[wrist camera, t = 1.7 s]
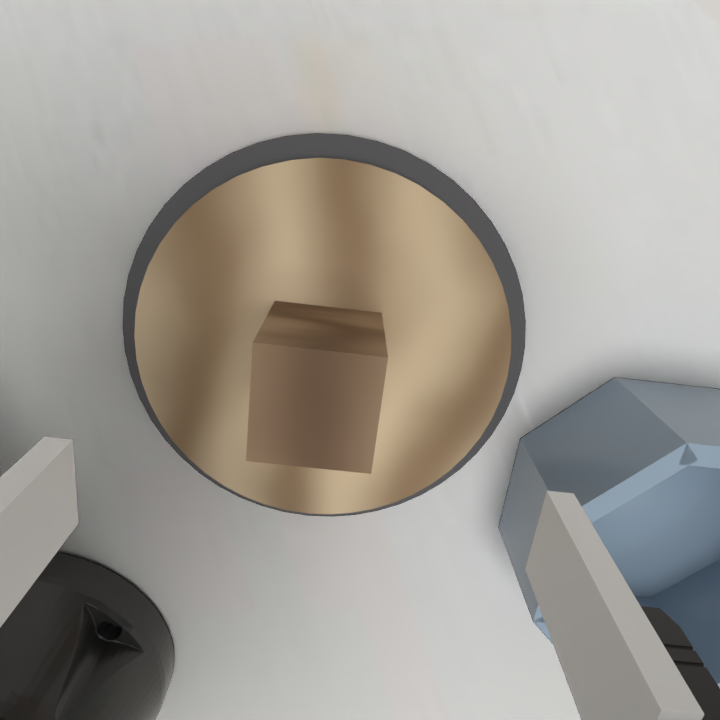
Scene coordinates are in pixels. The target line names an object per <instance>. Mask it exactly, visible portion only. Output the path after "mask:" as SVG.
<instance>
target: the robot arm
mask: <svg viewBox="0 0 720 720" xmlns="http://www.w3.org/2000/svg"><path fill="white" fill-rule="evenodd" d="M78 524H79V522H78V507H77V492H76V477H75V462H74V447H73V440H72V439H63V438H54V437H45V436H44V437H43V438H42V439H41V440H40V441H39V442H38V443H37V444H36V445H35V446H34V447H33V448H31V449H30V450H29V451H28V452H27V453H26V454H25V455H24V456H23V457H22V458H21V459H19V460H18V461H17V462H16V463H15V464H14V465H13V466H12V467H11V468H10V469H9V470H8V471H6V472H5V473H4V474H3V475H2V476H1V477H0V720H155V719H156V717H157V715H158V713H159V711H160V709H161V706H162V703H163V701H164V698H165V695H166V692H167V689H168V686H169V684H170V681H171V678H172V674H173V669H174V649H173V643H172V639H171V636H170V633H169V631H168V628H167V626H166V624H165V622H164V620H163V619H162V617H161V616H160V614H159V612H158V611H157V610H156V608H155V607H154V606H153V605H152V603H151V602H150V601H149V600H148V599H147V598H146V597H145V596H144V595H143V594H142V593H141V592H140V591H139V590H138V589H136V588H135V587H134V586H133V585H131V584H130V583H129V582H127V581H126V580H124V579H123V578H121V577H120V576H118V575H117V574H115V573H113V572H111V571H110V570H108V569H106V568H104V567H102V566H99V565H97V564H95V563H92V562H89V561H87V560H84V559H81V558H77V557H74V556H70V555H66V554H61V553H57V552H58V550H59V549H60V548H61V546H62V545H63V544H64V542H65V541H66V540H67V538H68V537H69V536H70V534H71V533H72V532H73V530H74V529H75V528H76V526H77V525H78ZM525 570H526V573H527V575H528V578H529V581H530V584H531V586H532V589H533V592H534V594H535V597H536V600H537V602H538V605H539V608H540V610H541V613H542V616H543V618H544V621H545V624H546V626H547V629H548V632H549V634H550V637H551V640H552V642H553V645H554V648H555V650H556V653H557V656H558V658H559V661H560V664H561V666H562V669H563V672H564V674H565V677H566V680H567V682H568V685H569V688H570V690H571V693H572V696H573V698H574V701H575V704H576V706H577V709H578V712H579V714H580V717H581V720H720V688H719V686H718V685H717V683H716V681H715V680H714V678H713V677H712V675H711V674H710V672H709V671H708V669H707V668H704V663H703V661H702V660H701V658H700V657H699V655H698V654H697V652H696V651H693V646H692V645H691V643H690V641H689V640H688V638H687V637H686V635H685V634H684V632H683V631H682V629H681V628H680V626H679V625H678V624H677V623H675V622H674V621H673V620H672V619H671V618H670V617H669V616H668V615H667V614H666V613H665V612H663V611H662V610H661V609H660V608H654V607H645V606H640V604H639V603H638V601H637V599H636V598H635V596H634V594H633V593H632V591H631V589H630V588H629V586H628V584H627V583H626V581H625V579H624V577H623V576H622V574H621V572H620V571H619V569H618V567H617V566H616V564H615V562H614V561H613V559H612V557H611V556H610V554H609V552H608V550H607V549H606V547H605V545H604V544H603V542H602V540H601V539H600V537H599V535H598V534H597V532H596V530H595V529H594V527H593V525H592V523H591V522H590V520H589V518H588V517H587V515H586V513H585V512H584V510H583V508H582V507H581V505H580V503H579V502H578V500H577V498H576V497H575V495H574V493H565V492H555V491H547V492H546V496H545V499H544V503H543V506H542V510H541V514H540V517H539V521H538V525H537V528H536V532H535V535H534V539H533V543H532V546H531V550H530V554H529V557H528V561H527V565H526V568H525Z"/></svg>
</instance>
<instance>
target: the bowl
mask: <svg viewBox="0 0 720 720" xmlns="http://www.w3.org/2000/svg"><path fill="white" fill-rule="evenodd" d="M547 491H555V492H565V493H574V495H575V497H576V498H577V500H578V502H579V503H580V505H581V507H582V508H583V510H584V512H585V513H586V515H587V517H588V518H589V520H590V522H591V523H592V525H593V527H594V529H595V530H596V532H597V534H598V535H599V537H600V539H601V540H602V542H603V544H604V545H605V547H606V549H607V550H608V552H609V554H610V556H611V557H612V559H613V561H614V562H615V564H616V566H617V567H618V569H619V571H620V572H621V574H622V576H623V577H624V579H625V581H626V583H627V584H628V586H629V588H630V589H631V591H632V593H633V594H634V596H635V598H636V599H637V601H638V603H639V604H640V606H645V607H654V608H660V609H661V610H662V611H663V612H665V613H666V614H667V615H668V616H669V617H670V618H671V619H672V620H673V621H674V622H675V623H677V624H678V625H679V626H680V628H681V629H682V631H683V632H684V634H685V635H686V637H687V638H688V640H689V641H690V643H691V645H692V646H693V651H696V652H697V654H698V655H699V657H700V658H701V660H702V661H703V663H704V668H707V669H708V671H709V672H710V674H711V675H712V677H713V678H714V680H715V681H716V683H717V685H718V686H719V688H720V389H714V388H705V387H696V386H687V385H678V384H669V383H661V382H652V381H643V380H634V379H625V378H616V377H614V378H613V379H611V380H610V381H608V382H607V383H605V384H604V385H602V386H601V387H599V388H598V389H596V390H595V391H593V392H591V393H590V394H588V395H587V396H585V397H584V398H582V399H581V400H579V401H578V402H576V403H575V404H573V405H571V406H570V407H568V408H567V409H565V410H564V411H562V412H561V413H559V414H558V415H556V416H555V417H553V418H551V419H550V420H548V421H547V422H545V423H544V424H542V425H541V426H539V427H538V428H536V429H535V430H533V431H531V432H530V433H528V434H527V435H525V436H524V437H522V438H521V439H520V442H519V446H518V450H517V454H516V458H515V462H514V466H513V471H512V475H511V479H510V483H509V487H508V491H507V495H506V499H505V503H504V507H503V511H502V516H501V520H500V524H499V530H500V533H501V535H502V538H503V541H504V544H505V546H506V549H507V552H508V554H509V557H510V560H511V563H512V565H513V568H514V571H515V574H516V576H517V579H518V582H519V585H520V587H521V590H522V593H523V595H524V598H525V601H526V604H527V606H528V609H529V612H530V615H531V617H532V620H533V622H534V623H535V625H536V626H537V627H538V628H539V629H540V630H541V631H542V633H543V634H544V635H545V636H546V637H547V638H548V639H549V640H550V642H551V643H552V644H553V642H552V640H551V637H550V634H549V632H548V629H547V626H546V624H545V621H544V618H543V616H542V613H541V610H540V608H539V605H538V602H537V600H536V597H535V594H534V592H533V589H532V586H531V584H530V581H529V578H528V575H527V573H526V570H525V568H526V565H527V561H528V557H529V554H530V550H531V546H532V543H533V539H534V535H535V532H536V528H537V525H538V521H539V517H540V514H541V510H542V506H543V503H544V499H545V496H546V492H547Z"/></svg>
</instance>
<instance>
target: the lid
mask: <svg viewBox="0 0 720 720" xmlns="http://www.w3.org/2000/svg"><path fill="white" fill-rule="evenodd" d="M134 338H135V349H136V359H137V364H138V368H139V373H140V377H141V381H142V384H143V387H144V389H145V392H146V395H147V397H148V400H149V403H150V405H151V407H152V408H153V410H154V412H155V414H156V416H157V418H158V420H159V422H160V423H161V425H162V426H163V428H164V429H165V431H166V432H167V433H168V435H169V436H170V438H171V439H172V441H173V442H174V443H175V444H176V445H177V446H178V447H179V449H180V450H181V451H182V452H183V453H184V454H185V455H186V456H187V457H188V458H189V459H190V460H191V461H192V462H193V463H194V464H195V465H197V466H198V467H199V468H200V469H201V470H202V471H203V472H205V473H206V474H207V475H209V476H210V477H212V478H213V479H215V480H216V481H218V482H219V483H221V484H222V485H223V486H225V487H227V488H229V489H231V490H233V491H235V492H237V493H238V494H240V495H242V496H244V497H247V498H249V499H252V500H255V501H257V502H260V503H262V504H265V505H269V506H272V507H276V508H280V509H284V510H289V511H295V512H302V513H310V514H342V513H353V512H359V511H364V510H370V509H374V508H378V507H381V506H384V505H388V504H391V503H394V502H397V501H399V500H401V499H404V498H406V497H408V496H411V495H413V494H415V493H417V492H418V491H420V490H422V489H424V488H425V487H427V486H429V485H431V484H432V483H434V482H435V481H436V480H438V479H439V478H440V477H442V476H443V475H444V474H446V473H447V472H449V471H450V470H451V469H452V468H453V467H454V466H455V465H456V464H457V463H458V462H459V461H460V460H461V459H463V458H464V457H465V456H466V455H467V453H468V452H469V451H470V450H471V448H472V447H473V446H474V445H475V444H476V442H477V441H478V440H479V439H480V437H481V436H482V434H483V432H484V431H485V429H486V428H487V426H488V424H489V423H490V421H491V419H492V417H493V415H494V413H495V411H496V409H497V406H498V404H499V402H500V400H501V397H502V393H503V390H504V387H505V383H506V380H507V376H508V370H509V363H510V357H511V325H510V317H509V309H508V305H507V301H506V297H505V294H504V290H503V286H502V283H501V281H500V278H499V276H498V274H497V271H496V269H495V267H494V264H493V262H492V260H491V259H490V257H489V255H488V254H487V252H486V250H485V249H484V247H483V245H482V244H481V242H480V240H479V239H478V238H477V237H476V235H475V234H474V233H473V232H472V231H471V229H470V228H469V227H468V226H467V224H466V223H465V222H464V221H463V220H462V219H461V218H460V217H459V216H458V215H457V214H456V213H455V212H454V211H453V210H452V209H451V208H449V207H448V206H447V205H446V204H445V203H444V202H443V201H441V200H440V199H438V198H437V197H436V196H434V195H433V194H431V193H430V192H428V191H427V190H426V189H424V188H423V187H421V186H420V185H418V184H416V183H414V182H412V181H410V180H408V179H406V178H404V177H402V176H400V175H398V174H396V173H394V172H391V171H388V170H385V169H383V168H380V167H377V166H374V165H371V164H366V163H361V162H356V161H351V160H346V159H332V158H309V159H297V160H289V161H285V162H280V163H276V164H271V165H267V166H263V167H260V168H257V169H255V170H252V171H249V172H247V173H244V174H241V175H239V176H236V177H235V178H233V179H231V180H229V181H227V182H226V183H224V184H222V185H220V186H218V187H216V188H215V189H213V190H212V191H210V192H209V193H208V194H206V195H205V196H204V197H203V198H201V199H200V200H199V201H197V202H196V203H195V204H193V205H192V206H191V207H190V208H189V209H188V210H187V211H186V212H185V213H184V214H183V215H182V216H181V217H180V218H179V219H178V220H177V221H176V222H175V223H174V225H173V226H172V228H171V229H170V230H169V232H168V233H167V234H166V236H165V237H164V239H163V240H162V241H161V243H160V244H159V246H158V248H157V250H156V252H155V254H154V256H153V258H152V259H151V261H150V263H149V265H148V268H147V271H146V273H145V276H144V279H143V282H142V285H141V288H140V292H139V297H138V302H137V307H136V313H135V333H134Z"/></svg>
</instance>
